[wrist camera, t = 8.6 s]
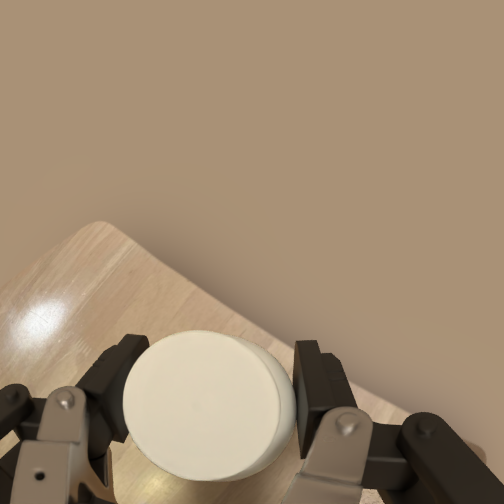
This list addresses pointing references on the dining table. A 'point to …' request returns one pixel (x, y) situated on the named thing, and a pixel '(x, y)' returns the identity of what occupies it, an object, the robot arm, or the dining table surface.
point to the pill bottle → (209, 406)
